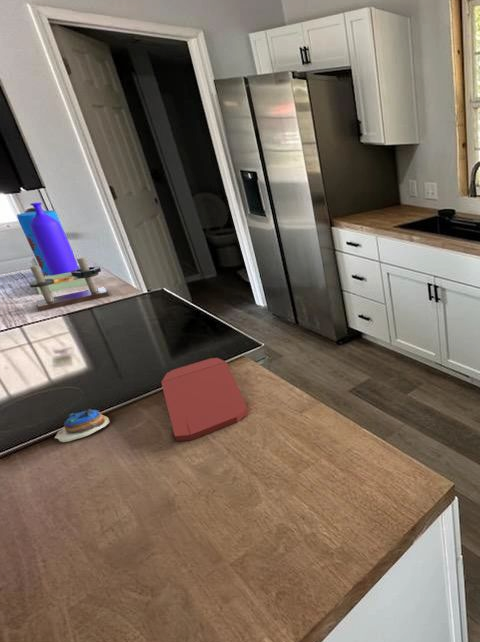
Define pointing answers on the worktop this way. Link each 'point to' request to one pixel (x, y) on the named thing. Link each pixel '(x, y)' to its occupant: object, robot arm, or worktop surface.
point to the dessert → (82, 425)
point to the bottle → (52, 242)
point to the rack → (68, 299)
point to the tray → (64, 284)
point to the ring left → (63, 280)
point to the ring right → (84, 273)
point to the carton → (202, 398)
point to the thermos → (25, 224)
